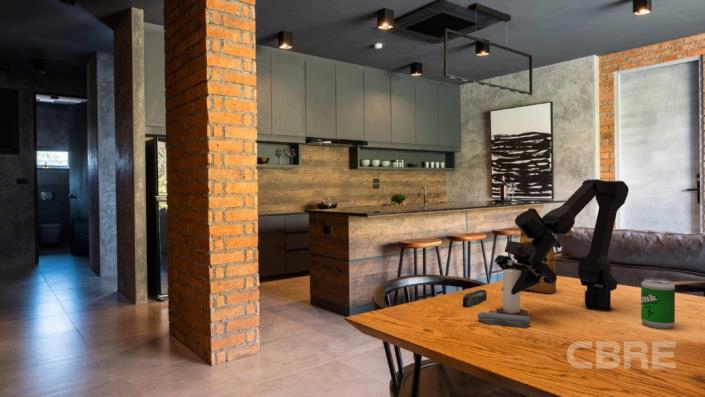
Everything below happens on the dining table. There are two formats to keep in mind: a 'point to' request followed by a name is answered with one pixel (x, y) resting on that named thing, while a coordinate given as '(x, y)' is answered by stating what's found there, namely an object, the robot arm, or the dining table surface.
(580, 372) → the dining table surface
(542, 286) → the coffee package
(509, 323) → the clamp board
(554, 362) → the dining table surface
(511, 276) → the pin
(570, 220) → the robot arm
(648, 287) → the soda can
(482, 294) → the mobile phone
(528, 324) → the grey domed rod
